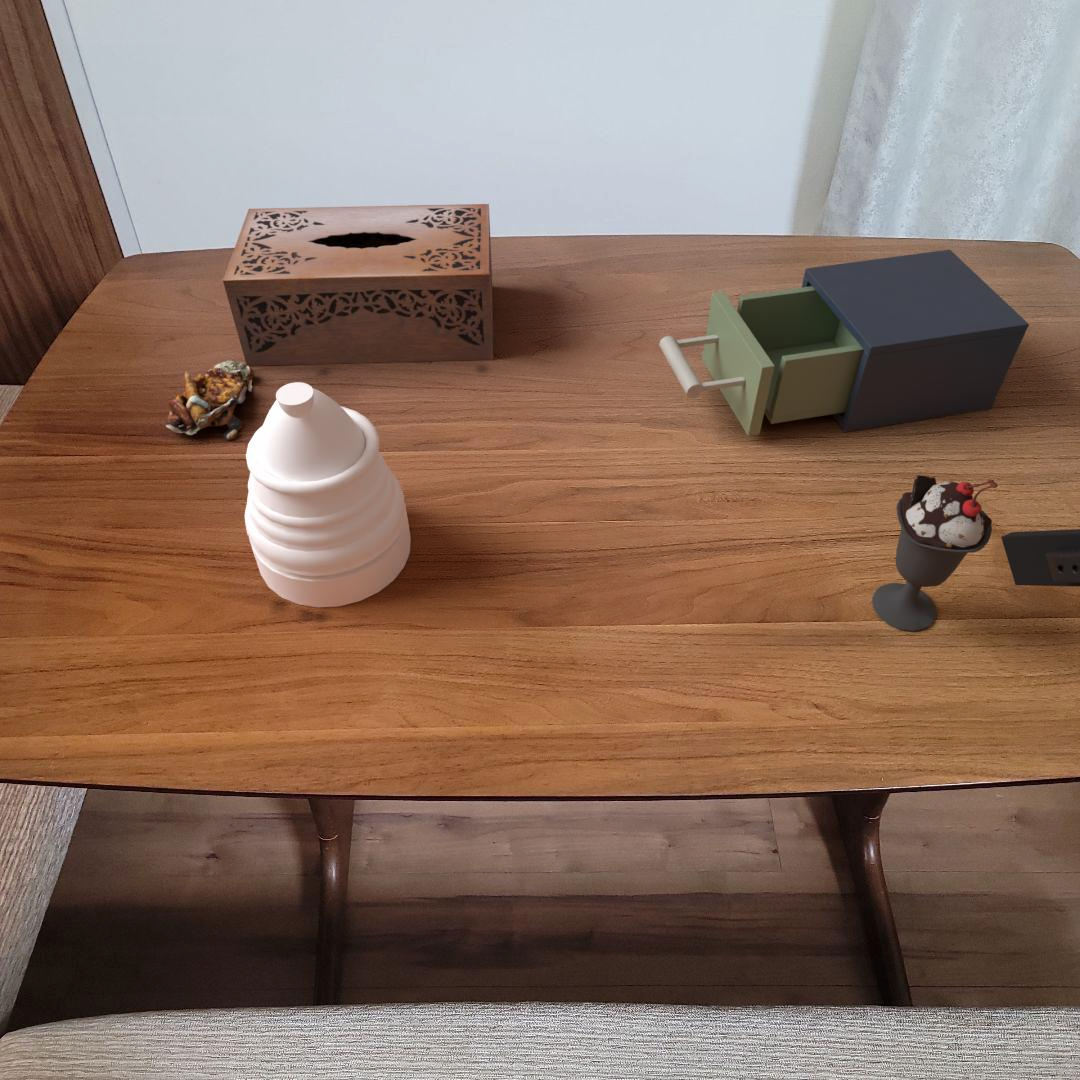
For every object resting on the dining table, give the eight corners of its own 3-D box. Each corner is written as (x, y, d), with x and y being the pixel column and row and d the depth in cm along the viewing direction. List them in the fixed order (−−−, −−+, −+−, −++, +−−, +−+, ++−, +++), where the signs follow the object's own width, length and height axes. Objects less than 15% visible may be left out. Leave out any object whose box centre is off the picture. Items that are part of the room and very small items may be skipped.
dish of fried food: (261, 366, 97) (253, 337, 94) (238, 441, 88) (228, 411, 86) (193, 367, 97) (183, 338, 94) (164, 442, 88) (152, 412, 86)
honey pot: (418, 594, 75) (393, 421, 62) (257, 619, 74) (196, 447, 61) (403, 487, 84) (377, 316, 71) (258, 507, 82) (204, 336, 69)
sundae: (953, 645, 72) (1027, 507, 61) (864, 634, 72) (922, 496, 62) (942, 581, 76) (1009, 442, 65) (858, 571, 77) (910, 432, 66)
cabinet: (844, 432, 89) (871, 347, 82) (786, 350, 98) (805, 268, 91) (991, 408, 92) (1029, 324, 85) (921, 331, 101) (950, 249, 94)
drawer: (689, 445, 87) (700, 376, 81) (648, 367, 95) (655, 299, 89) (889, 413, 90) (912, 345, 84) (831, 340, 98) (849, 273, 92)
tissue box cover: (492, 285, 107) (488, 203, 100) (493, 359, 98) (489, 274, 90) (268, 290, 107) (248, 208, 99) (246, 365, 97) (222, 280, 90)
